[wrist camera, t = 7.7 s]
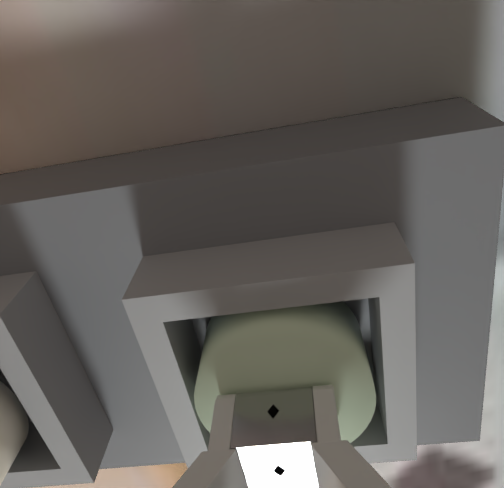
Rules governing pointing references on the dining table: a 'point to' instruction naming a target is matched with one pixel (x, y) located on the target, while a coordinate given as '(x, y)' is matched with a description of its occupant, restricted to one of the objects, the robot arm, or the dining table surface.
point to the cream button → (11, 429)
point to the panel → (248, 279)
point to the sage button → (288, 359)
